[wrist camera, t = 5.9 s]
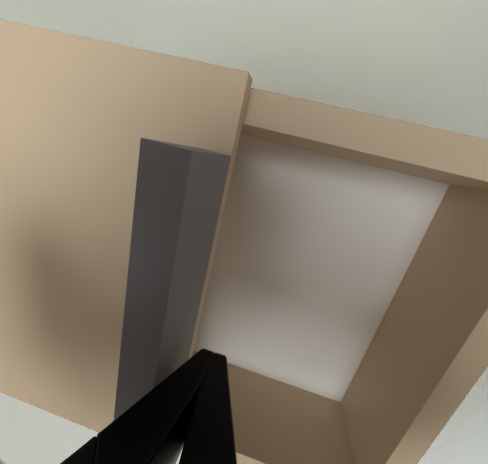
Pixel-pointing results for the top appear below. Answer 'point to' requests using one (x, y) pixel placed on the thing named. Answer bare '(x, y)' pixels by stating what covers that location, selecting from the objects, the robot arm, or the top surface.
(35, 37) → the lid
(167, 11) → the top surface
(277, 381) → the mailer box
